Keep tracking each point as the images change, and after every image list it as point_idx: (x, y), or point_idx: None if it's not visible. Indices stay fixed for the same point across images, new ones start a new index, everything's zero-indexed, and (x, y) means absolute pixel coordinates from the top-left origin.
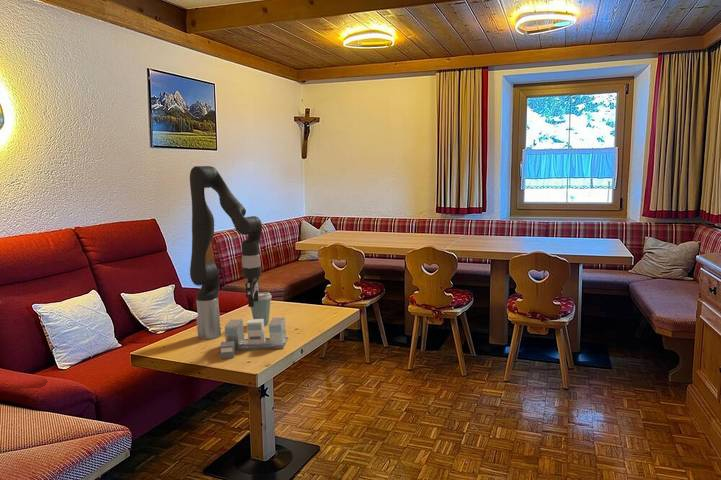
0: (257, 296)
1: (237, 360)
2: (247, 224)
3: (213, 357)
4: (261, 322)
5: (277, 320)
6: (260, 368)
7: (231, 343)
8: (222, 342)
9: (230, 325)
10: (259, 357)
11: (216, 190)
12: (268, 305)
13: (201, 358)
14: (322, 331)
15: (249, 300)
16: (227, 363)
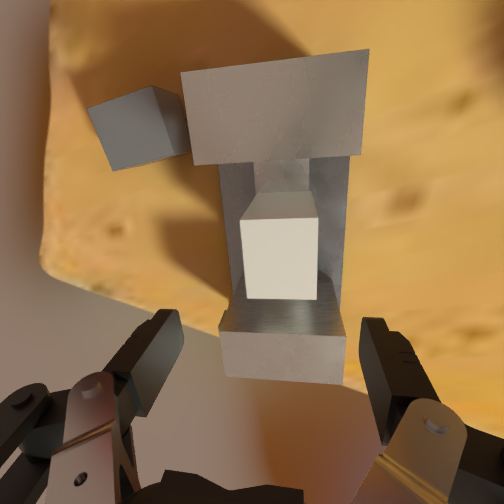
0: (371, 395)
1: (120, 187)
2: None
3: (134, 66)
4: (250, 297)
5: (289, 359)
6: (75, 275)
7: (140, 152)
8: (149, 94)
9: (206, 112)
10: (156, 255)
11: None
12: None
13: (115, 2)
14: None
15: (114, 366)
16: (87, 159)
